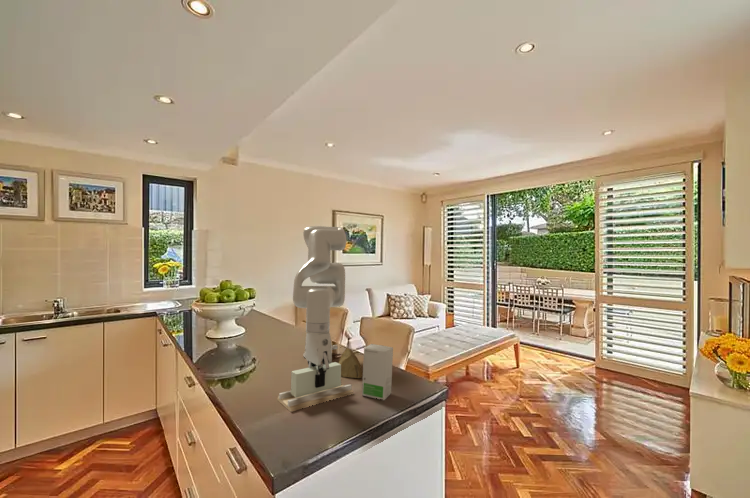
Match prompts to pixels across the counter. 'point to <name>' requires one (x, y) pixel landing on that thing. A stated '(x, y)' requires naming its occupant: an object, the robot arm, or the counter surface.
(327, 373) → the door panel
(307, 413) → the counter surface
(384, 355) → the skincare box
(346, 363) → the rock
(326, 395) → the bottom track
